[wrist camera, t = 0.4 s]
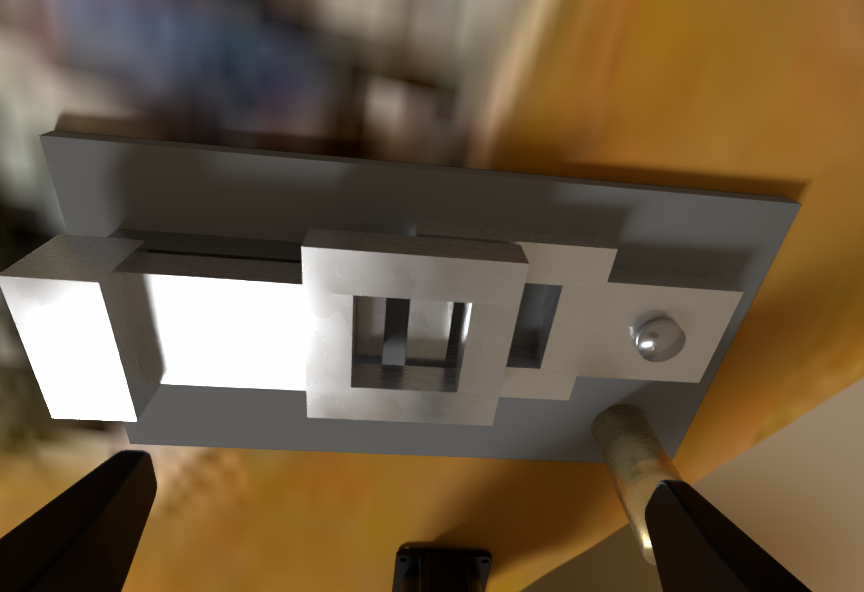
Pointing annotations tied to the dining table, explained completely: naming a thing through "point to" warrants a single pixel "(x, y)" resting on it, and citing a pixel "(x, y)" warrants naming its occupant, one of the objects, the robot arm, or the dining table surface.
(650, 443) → the brass pin
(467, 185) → the gray rectangular board
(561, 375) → the grey slotted plate
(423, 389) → the metal latch plate
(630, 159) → the dining table surface
